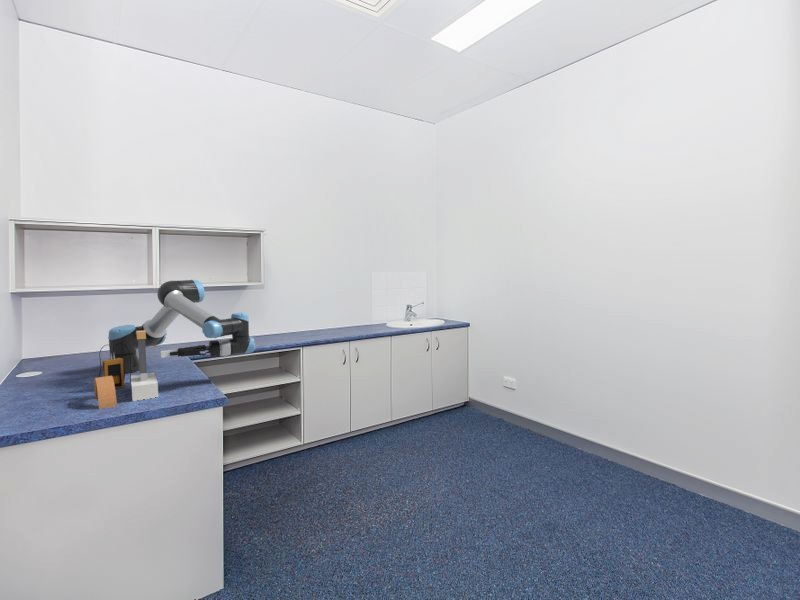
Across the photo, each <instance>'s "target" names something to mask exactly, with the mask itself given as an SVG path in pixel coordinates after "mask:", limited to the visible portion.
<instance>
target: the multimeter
mask: <svg viewBox="0 0 800 600" xmlns="http://www.w3.org/2000/svg"><path fill="white" fill-rule="evenodd" d="M119 344H122V343H119ZM116 345H118V344H116ZM116 345H115V346H116ZM124 345H125V344H124ZM106 346H107V344H106V345H103V346H102V347H101V348H100V349H99V356H98V357H101V352H102V349H103V348H104V347H106ZM109 346H110V345H109V344H108V347H109ZM115 346H114V347H115ZM125 346H126V345H125ZM114 347H113V359H112V354H111V353H110V352H111V346H110V350H109V359H104V360H102V361H101V358H99V362H100V363H99V365H100V367H99V373H98V377H101V371H102V377H105V376H112V377H113V380H114V385H115V389H119V388H125V385H131V375H132V372H131V358H130V373H129V374H130V375H129V382H125V378H126V373H125V368H124V364H123V359H122V358H116V359H115V356H114ZM126 347H127V346H126ZM127 349H128V348H127ZM128 352H129V350H128ZM110 355H111V356H110ZM129 356H130V353H129Z"/></svg>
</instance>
